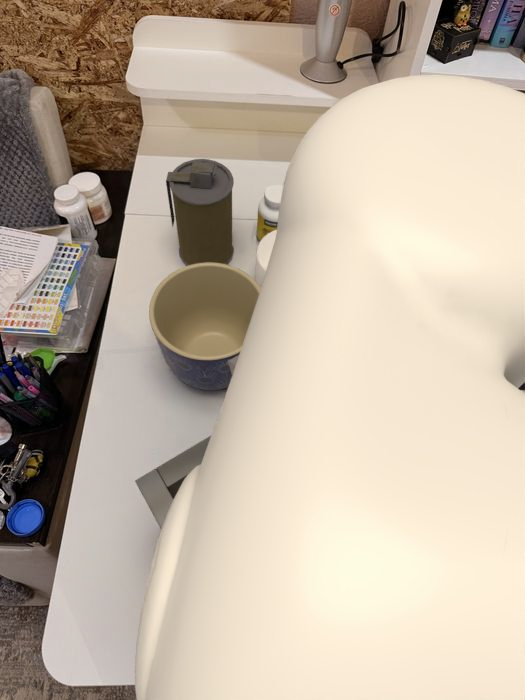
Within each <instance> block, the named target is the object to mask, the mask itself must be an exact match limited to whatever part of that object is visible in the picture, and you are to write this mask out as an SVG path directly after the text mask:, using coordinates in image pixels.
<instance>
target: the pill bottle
mask: <svg viewBox="0 0 525 700" xmlns="http://www.w3.org/2000/svg"><path fill="white" fill-rule="evenodd" d="M283 185H284V184H279V183H275V184H270V185H268V186H267V187H266V188H265V190H264V192H263V193H264V194H263V197H262V198H261V199H260V200H259V202H258V205H257V221H256V239H257V242H258V243H259V242H260V241H261V240H262V238H263V237H265V236H266V235H267V234H268V233H270V232H272V231H274V230H277V224H278V216H279V208H280V202H281V197H282V191H283Z"/></svg>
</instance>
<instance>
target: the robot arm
mask: <svg viewBox="0 0 525 700" xmlns="http://www.w3.org/2000/svg"><path fill="white" fill-rule="evenodd" d="M282 185H283V191H282V197H281V202H280V208H279V216H278V224H277V233H276V239H275V242H274V246H273V249H272V253H271V256H270V259H269V263H268V266H267V270H266V273H265V276H264V280H263V283H262V286H261V290H260V293H259V296H258V299H257V303H256V306H255V309H254V312H253V315H252V318H251V321H250V324H249V327H248V330H247V333H246V336H245V339H244V342H243V345H242V348H241V351H240V354H239V355H238V356H236V357H234V358H232V359H230V360H228V364H229V367H230V370H231V373H232V378H231V381H230V384H229V387H227V389H226V392H225V396H224V398H223V401H222V403H221V407H220V410H219V412H218V416H217V419H216V422H215V423H214V427H213V429H212V432H211V435H210V436H211V438H210V440H209V443H208V446H207V449H206V452H205V455H204V457H203V460H202V463H201V465H198V466H196V467H195V468H194V469H193V470H192V471H191V472H190V473H189V474H188V475H187V477H186V478H185V479H184V481H183V482H182V484H181V486H180V488H179V490H178V492H177V494H176V496H175V498H174V499H173V501H172V504H171V506H170V508H169V511H168V513H167V516H166V518H165V521H164V524H163V527H162V530H161V529H160V532H159V535H158V538H157V542H156V545H155V549H154V552H153V555H152V559H151V563H150V567H149V571H148V575H147V580H146V585H145V591H144V595H143V599H142V605H141V610H140V615H139V622H138V628H137V635H136V645H135V658H134V659H135V660H134V689H135V690H134V691H135V697H136V698H135V699H136V700H525V389H524V390H523V389H519V388H520V387H521V386H522V385H524V384H525V93H524V92H522V91H520V90H516V89H514V88H511V87H508V86H506V85H502V84H499V83H496V82H491V81H488V80H485V79H479V78H474V77H468V76H462V75H451V74H438V73H437V74H414V75H409V76H408V75H407V76H402V77H396V78H395V77H394V78H392V79H388V80H385V81H380V82H378V83H375V84H371V85H367V86H365V87H362V88H360V89H357V90H356V91H354V92H352V93H350V94H348V95H347V96H344V97H342V98H341V99H340V100H339V101H338V102H336V103H335V104H334V105H332V106H331V107H330V108H329V109H328V110H326V111H325V112H324V113H323V114H322V115H320V116H319V117H318V118H317V119H316V121H315V122H314V123H313V124H312V125H311V126H310V128H309V129H308V130H307V132H306V133H305V134H304V136H303V137H302V139H301V140H300V142H299V144H298V146H297V147H296V150H295V152H294V154H293V156H292V158H291V160H290V163H289V165H288V168H287V170H286V173H285V176H284V180H283V184H282Z"/></svg>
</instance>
